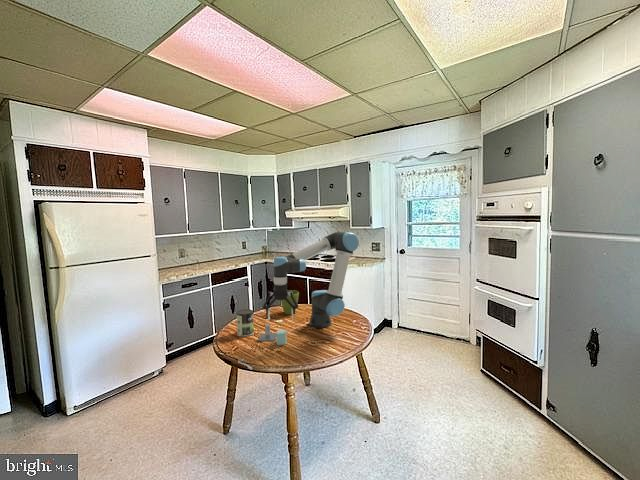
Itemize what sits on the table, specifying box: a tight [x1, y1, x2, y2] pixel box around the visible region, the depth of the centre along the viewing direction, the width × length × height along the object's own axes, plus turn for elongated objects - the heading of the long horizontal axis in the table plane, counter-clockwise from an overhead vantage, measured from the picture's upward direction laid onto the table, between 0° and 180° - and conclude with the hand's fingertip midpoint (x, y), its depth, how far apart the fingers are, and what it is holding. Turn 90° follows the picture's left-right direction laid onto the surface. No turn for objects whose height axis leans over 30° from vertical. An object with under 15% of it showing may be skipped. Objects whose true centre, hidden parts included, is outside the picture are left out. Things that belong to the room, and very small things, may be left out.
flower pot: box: [280, 289, 300, 315], centre depth 227 cm, size 15×15×16 cm
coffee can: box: [235, 308, 255, 337], centre depth 188 cm, size 10×10×14 cm
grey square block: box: [257, 323, 277, 342], centre depth 182 cm, size 10×10×8 cm
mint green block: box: [276, 329, 287, 346], centre depth 174 cm, size 5×5×7 cm
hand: (280, 319), depth 173 cm, fingers open, 13 cm apart
